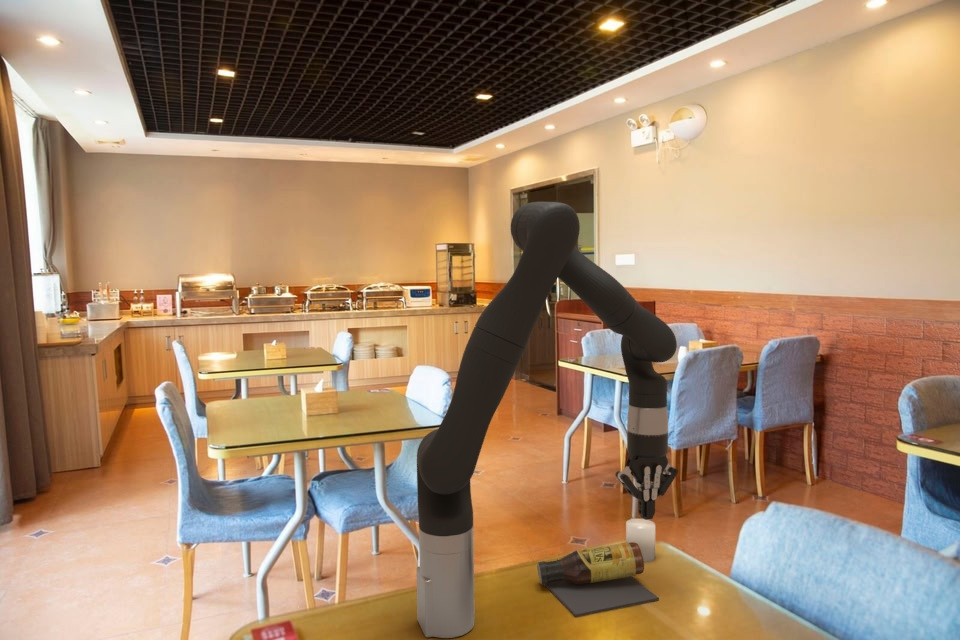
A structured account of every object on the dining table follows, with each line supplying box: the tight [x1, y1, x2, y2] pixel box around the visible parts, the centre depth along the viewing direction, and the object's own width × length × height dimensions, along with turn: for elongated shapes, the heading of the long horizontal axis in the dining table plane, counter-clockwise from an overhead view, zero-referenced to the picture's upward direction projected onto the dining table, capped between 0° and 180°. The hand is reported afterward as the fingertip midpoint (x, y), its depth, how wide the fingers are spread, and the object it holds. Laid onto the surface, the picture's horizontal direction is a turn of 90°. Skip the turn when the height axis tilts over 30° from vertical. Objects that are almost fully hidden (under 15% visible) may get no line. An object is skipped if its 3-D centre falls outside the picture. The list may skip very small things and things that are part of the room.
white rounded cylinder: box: [625, 518, 656, 563], centre depth 138 cm, size 6×6×7 cm
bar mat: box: [543, 576, 660, 618], centre depth 124 cm, size 17×15×1 cm
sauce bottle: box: [536, 541, 645, 585], centre depth 125 cm, size 7×6×20 cm
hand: (646, 517), depth 125 cm, fingers closed
